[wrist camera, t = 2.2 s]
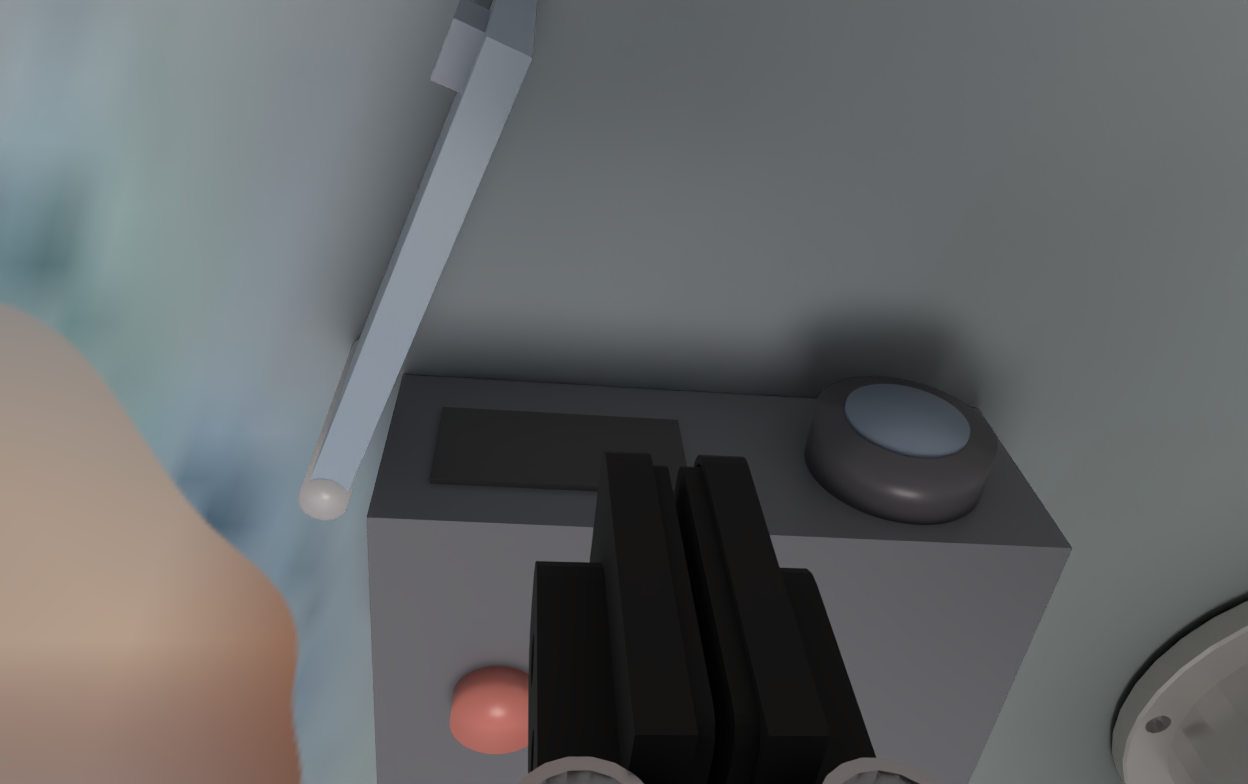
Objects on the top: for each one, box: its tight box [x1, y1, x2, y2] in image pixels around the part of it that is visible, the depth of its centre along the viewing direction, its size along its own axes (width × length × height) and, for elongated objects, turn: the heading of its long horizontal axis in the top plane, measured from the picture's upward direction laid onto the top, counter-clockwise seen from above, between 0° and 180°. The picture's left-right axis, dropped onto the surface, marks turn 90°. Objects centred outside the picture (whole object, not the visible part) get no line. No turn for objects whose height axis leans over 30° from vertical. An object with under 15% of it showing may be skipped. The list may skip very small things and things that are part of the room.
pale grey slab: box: [298, 0, 537, 520], centre depth 21 cm, size 10×2×6 cm, turn 154°
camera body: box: [367, 375, 1072, 784], centre depth 26 cm, size 16×11×7 cm, turn 84°
